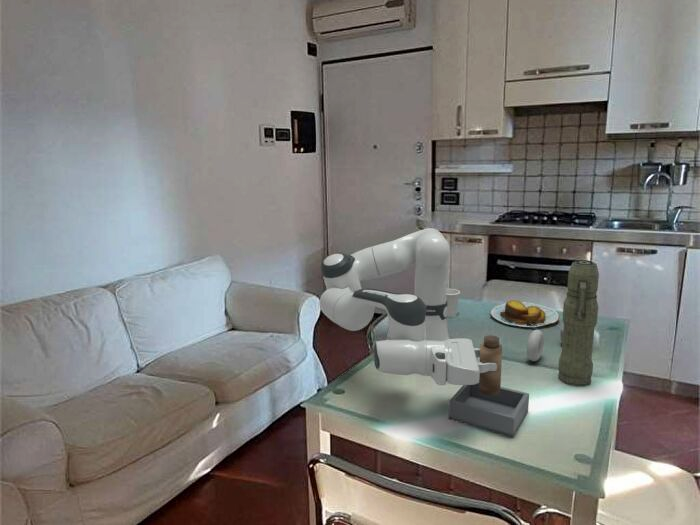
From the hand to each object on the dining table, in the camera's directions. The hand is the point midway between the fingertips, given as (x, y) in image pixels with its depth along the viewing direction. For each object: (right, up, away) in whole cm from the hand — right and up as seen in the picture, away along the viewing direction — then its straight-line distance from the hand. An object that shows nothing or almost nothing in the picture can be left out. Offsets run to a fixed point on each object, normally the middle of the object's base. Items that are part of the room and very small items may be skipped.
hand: (494, 360), depth 122 cm
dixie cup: (+5, +3, +79) cm, 80 cm away
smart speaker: (+40, -4, +45) cm, 61 cm away
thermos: (+30, -10, +22) cm, 38 cm away
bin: (0, -15, +4) cm, 15 cm away
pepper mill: (-1, -8, +2) cm, 8 cm away
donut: (+23, -7, +35) cm, 43 cm away
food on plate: (+33, +2, +74) cm, 81 cm away
